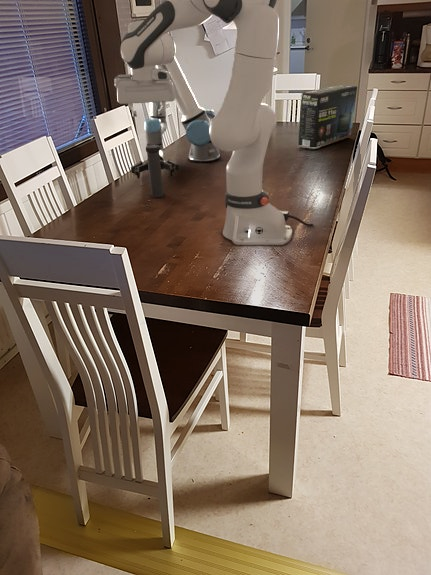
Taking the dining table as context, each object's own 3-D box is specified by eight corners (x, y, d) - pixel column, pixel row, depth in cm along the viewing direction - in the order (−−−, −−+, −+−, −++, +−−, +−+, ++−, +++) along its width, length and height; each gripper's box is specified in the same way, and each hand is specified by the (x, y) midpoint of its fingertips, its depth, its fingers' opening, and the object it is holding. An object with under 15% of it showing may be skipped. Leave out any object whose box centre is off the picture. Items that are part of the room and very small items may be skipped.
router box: (314, 151, 231) (318, 94, 217) (296, 148, 237) (299, 92, 224) (352, 138, 251) (358, 85, 238) (335, 135, 258) (340, 83, 245)
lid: (143, 150, 175) (143, 146, 174) (156, 148, 177) (155, 143, 177) (149, 153, 171) (149, 148, 170) (162, 151, 174) (161, 146, 173)
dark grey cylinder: (149, 195, 184) (144, 147, 174) (160, 192, 186) (155, 145, 176) (154, 198, 181) (149, 149, 171) (165, 196, 183) (160, 147, 173)
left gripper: (183, 166, 209) (185, 181, 191) (128, 170, 207) (125, 185, 189) (182, 149, 205) (184, 163, 187) (126, 153, 203) (122, 167, 185)
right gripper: (113, 76, 153) (118, 119, 161) (174, 73, 157) (176, 115, 164) (113, 73, 159) (118, 115, 166) (171, 71, 162) (174, 112, 170)
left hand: (154, 174), depth 188 cm, fingers open, 13 cm apart
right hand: (147, 115), depth 165 cm, fingers open, 8 cm apart
